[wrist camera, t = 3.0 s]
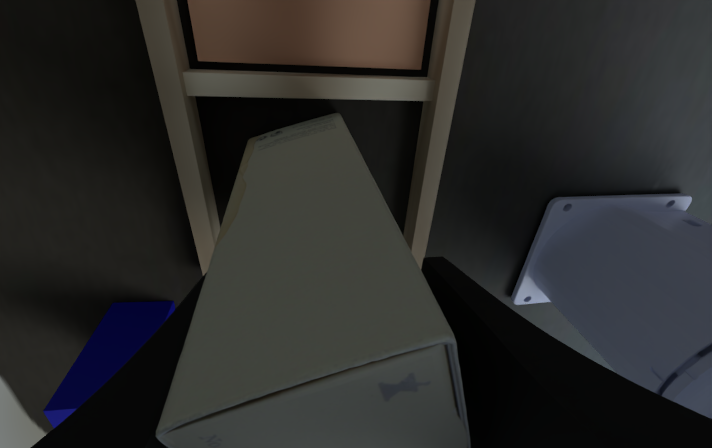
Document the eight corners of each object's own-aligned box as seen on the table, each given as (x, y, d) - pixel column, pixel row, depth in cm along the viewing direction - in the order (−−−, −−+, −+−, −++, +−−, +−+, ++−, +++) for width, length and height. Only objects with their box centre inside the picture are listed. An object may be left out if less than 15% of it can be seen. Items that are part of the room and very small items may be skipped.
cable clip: (222, 416, 25) (204, 517, 20) (156, 422, 24) (120, 530, 19) (202, 298, 19) (169, 400, 14) (114, 300, 18) (43, 411, 13)
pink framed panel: (504, -265, 10) (536, -308, 8) (412, 260, 20) (420, 276, 18) (71, -362, 8) (28, -435, 6) (213, 272, 18) (206, 291, 16)
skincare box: (246, 136, 14) (119, 428, 4) (344, 108, 14) (463, 328, 4) (294, 247, 18) (292, 558, 7) (373, 224, 18) (479, 503, 7)
